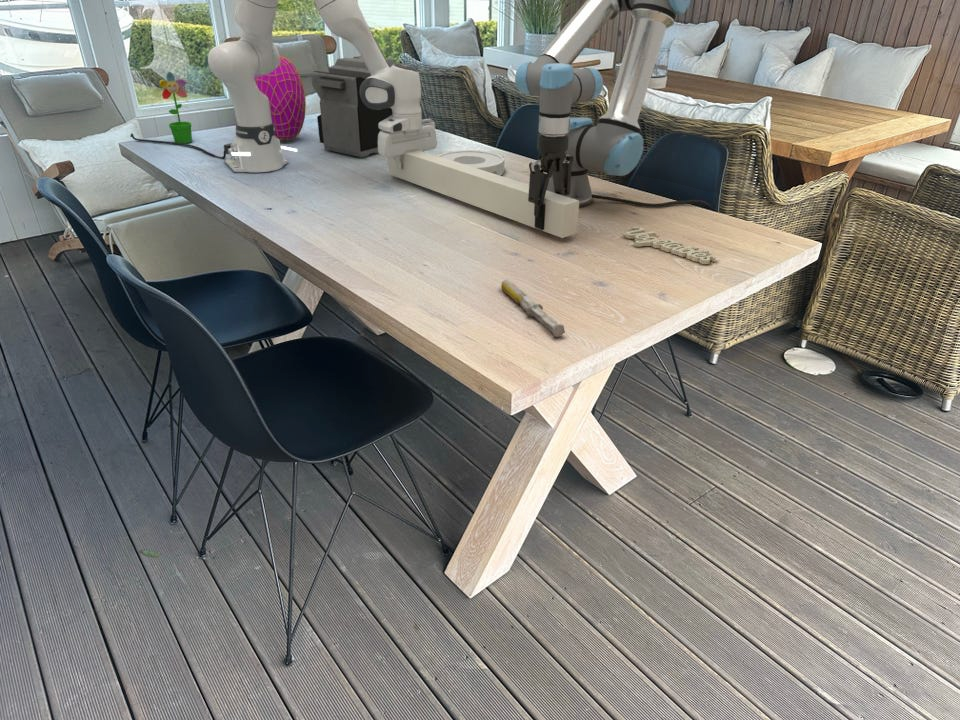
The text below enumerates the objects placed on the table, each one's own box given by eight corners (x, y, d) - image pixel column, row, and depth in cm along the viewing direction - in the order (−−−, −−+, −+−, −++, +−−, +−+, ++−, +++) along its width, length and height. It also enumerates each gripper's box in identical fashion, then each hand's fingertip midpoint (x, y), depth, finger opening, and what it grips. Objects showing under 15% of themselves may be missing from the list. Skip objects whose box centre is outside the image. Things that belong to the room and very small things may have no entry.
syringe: (497, 287, 149) (497, 275, 147) (512, 284, 150) (513, 273, 149) (547, 340, 129) (548, 327, 128) (565, 336, 130) (566, 324, 129)
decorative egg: (293, 132, 276) (283, 50, 261) (319, 140, 264) (310, 56, 249) (249, 139, 265) (236, 54, 250) (273, 148, 253) (261, 60, 238)
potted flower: (172, 145, 255) (157, 73, 243) (170, 140, 261) (154, 70, 249) (199, 142, 259) (185, 71, 247) (196, 138, 265) (182, 68, 253)
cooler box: (383, 133, 276) (378, 52, 261) (425, 141, 265) (422, 56, 250) (314, 150, 251) (304, 61, 235) (358, 160, 240) (350, 67, 224)
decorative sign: (611, 234, 176) (635, 225, 181) (610, 237, 176) (634, 229, 182) (700, 264, 159) (723, 254, 164) (699, 268, 159) (723, 257, 165)
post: (576, 233, 174) (579, 200, 170) (562, 238, 171) (564, 204, 167) (402, 171, 224) (401, 144, 219) (388, 174, 220) (386, 147, 216)
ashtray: (437, 161, 240) (437, 149, 238) (504, 162, 239) (504, 150, 237) (431, 179, 220) (431, 167, 218) (504, 181, 219) (504, 168, 217)
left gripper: (428, 115, 216) (429, 160, 223) (373, 124, 205) (376, 170, 212) (440, 119, 212) (441, 164, 219) (385, 127, 201) (387, 175, 208)
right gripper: (567, 125, 173) (561, 214, 185) (514, 136, 163) (511, 229, 175) (590, 130, 169) (582, 221, 180) (537, 142, 158) (532, 237, 170)
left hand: (408, 167), depth 215 cm, fingers closed on post, 5 cm apart
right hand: (547, 225), depth 178 cm, fingers closed on post, 5 cm apart
